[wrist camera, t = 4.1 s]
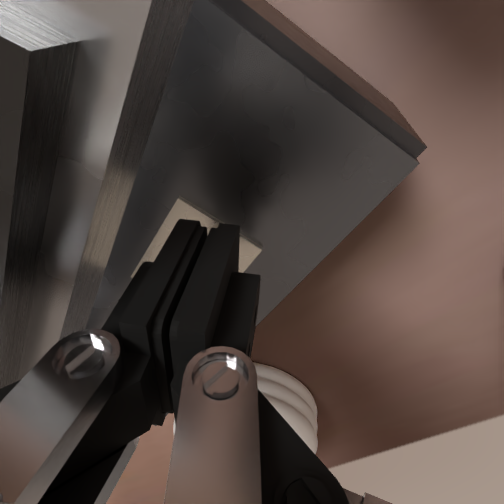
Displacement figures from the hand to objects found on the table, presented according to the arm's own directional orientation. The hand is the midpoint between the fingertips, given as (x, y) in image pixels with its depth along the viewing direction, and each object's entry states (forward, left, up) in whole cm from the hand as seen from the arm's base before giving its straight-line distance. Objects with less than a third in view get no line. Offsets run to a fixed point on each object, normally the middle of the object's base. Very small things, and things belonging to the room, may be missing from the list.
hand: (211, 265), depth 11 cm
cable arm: (+1, -4, +1) cm, 4 cm away
